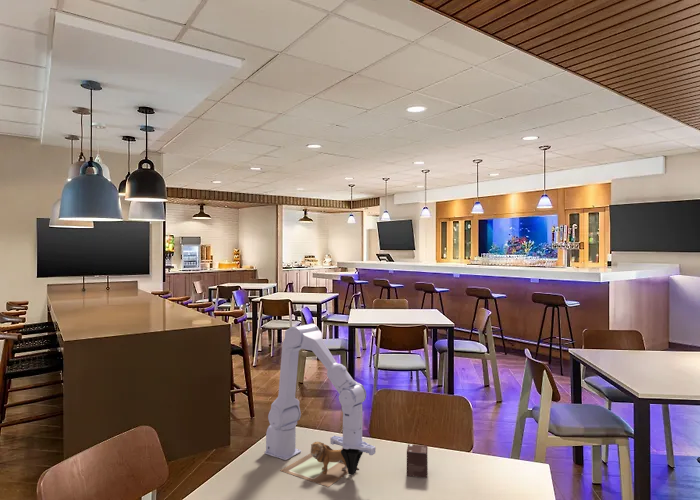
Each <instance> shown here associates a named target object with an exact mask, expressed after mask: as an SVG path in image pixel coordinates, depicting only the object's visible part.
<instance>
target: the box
mask: <svg viewBox="0 0 700 500" xmlns="http://www.w3.org/2000/svg"><path fill="white" fill-rule="evenodd" d="M428 459H429V458H428V445H426V444H425V445H424V444H410V443H408V444H407V449H406V476H407V477H410V478H411V477H413V478H424V479H425V478H427V477H428V470H429V469H428V467H429V466H428V461H429V460H428Z"/></svg>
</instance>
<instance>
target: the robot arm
mask: <svg viewBox="0 0 700 500" xmlns="http://www.w3.org/2000/svg"><path fill="white" fill-rule="evenodd" d="M281 345H282V346H281V347H282V348H281V356H280V357H281V360H280V370H279V383H278V394H277V395H278V396H277V398H276V399H274V400H273V402H272V403H271V405H270V410H269V412H268V415H267V419H268V422H269V425H268V426H267V429H266V434H265V451H264V454H265V455H267V456H271V457H274V458H277V459H281V460H283V461H286V460H289V459H291V458H293V457H295V456H296V455H298V454H300V453H301V452H302V450H301V449H298V448H297V447H296V445H297V443H296V441H297V440H296V437H297V435H296V430H297V429H296V425H298V421H299V420H300V419H301V417H302V414H301V413H302V412H301V408H300V404H301V403H300V400H299V399H298V398H296V392H297V391H296V390H297V381H298V380H297V377H298V364H299V356H300V355H299V353H300V351H301V350H305V351H306V350H307V351H310V352H311V351H312V352H313V354H314V355H315V356H316V358H317V360H319V362H320V363H321V364H322V365H323V366H324V368H325V369H326V370H327V371H326V377H327V379H328V380H329V381H330V382H331V384H332V386H333V387H334V388H335V390H336V391H337V393H338V394H339V395H338V400H339V403H340V406H341V411H342V436H339V435H338V436H337V435H332V436H331V437H330V442H329V444H330V445H333V446H334V445H337V446H340V447H341V449H342V448H343V449H342V450H341V454H342V456H343V458H344V460H345V462H346V465H347V469H348V475H349V476H354V475H355V474H356V473H357V471H358V470H357V468H358V466H359V463H360V459H361V457H362V455H363V453H366V454H368V455H369V456H373V455H375V454H376V445H372V444H370V443H368V442H366V441H364V440H363V403H364V402H365V401H366V399H367V391H366V388H365V387H364V385H363V384H361V383H360V382H357V381H356V380H354V379H353V377H352V376H351V374H350V373H349V372H348V370H347V367H346V366H345V365H344V364H342V363H338V362H337V361H336V360H335V358H334V356H333V354H332V353H331V351H330V350H329V348H328V347H327V344H326V343H325V341H324V339H323V332H322V331H321V330H320V328H319V327H318V326H317V324H315V323H307V324H301V325H298V326H297V325H296V326H290V327H289V328H287V329H286V330H285V332H284V339H283V341H282V344H281Z"/></svg>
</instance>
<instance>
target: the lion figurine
mask: <svg viewBox="0 0 700 500" xmlns="http://www.w3.org/2000/svg"><path fill="white" fill-rule="evenodd" d="M310 445H311V447H310V451H309V452H310V453H311V455H312V456H313V457H314V458H315V459H317V461H318V462H323V464H324V467H322V470H324V471H323V472H322V473H323V474H326V473H327V471H328V469H327V466H328V463H329V462H342V463H344V464H345V467H342V470H346V468H347V465H346V462H345V460H344V458H343V456H342V454H341V450H340V449H334V448H331V446H329V445H327V444H325V443H324V442H321V441H314V442H313V443H312V444H310ZM310 453H309V454H310ZM341 460H342V461H341ZM359 470H360V468H358V467H357V470H356V471H359Z"/></svg>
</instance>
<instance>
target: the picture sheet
mask: <svg viewBox="0 0 700 500" xmlns="http://www.w3.org/2000/svg"><path fill="white" fill-rule="evenodd" d="M322 467H324V464H323V462H318V461H317V459H315V458H314V457H313V456H312V455H311V453H308V454H307V455H305V456H303V457H301V458H299V459H298V460H296V461H294V462H292V463H290V464H289V465H287V466H286V467H284V468H282V469H280V470H279V471H280V472H283V473H286V474H289V475H292V476H295V477H297V478H300V479H303V480H305V481H309V482H311V483H315V484H319V485H322V486H324V487H327V488H329V487H330V486H332V485H334V484H335V483H336V482H339V480H341V479H342V478H344V477H345V476H347V475H349V473H348V469H347V468H346V470H342V467H345V464H344V463H343V461H339V462H329V463H328V466H327V469H328V471H327V473H326V474H323V473H322V472H323V471H324V470H322Z"/></svg>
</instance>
